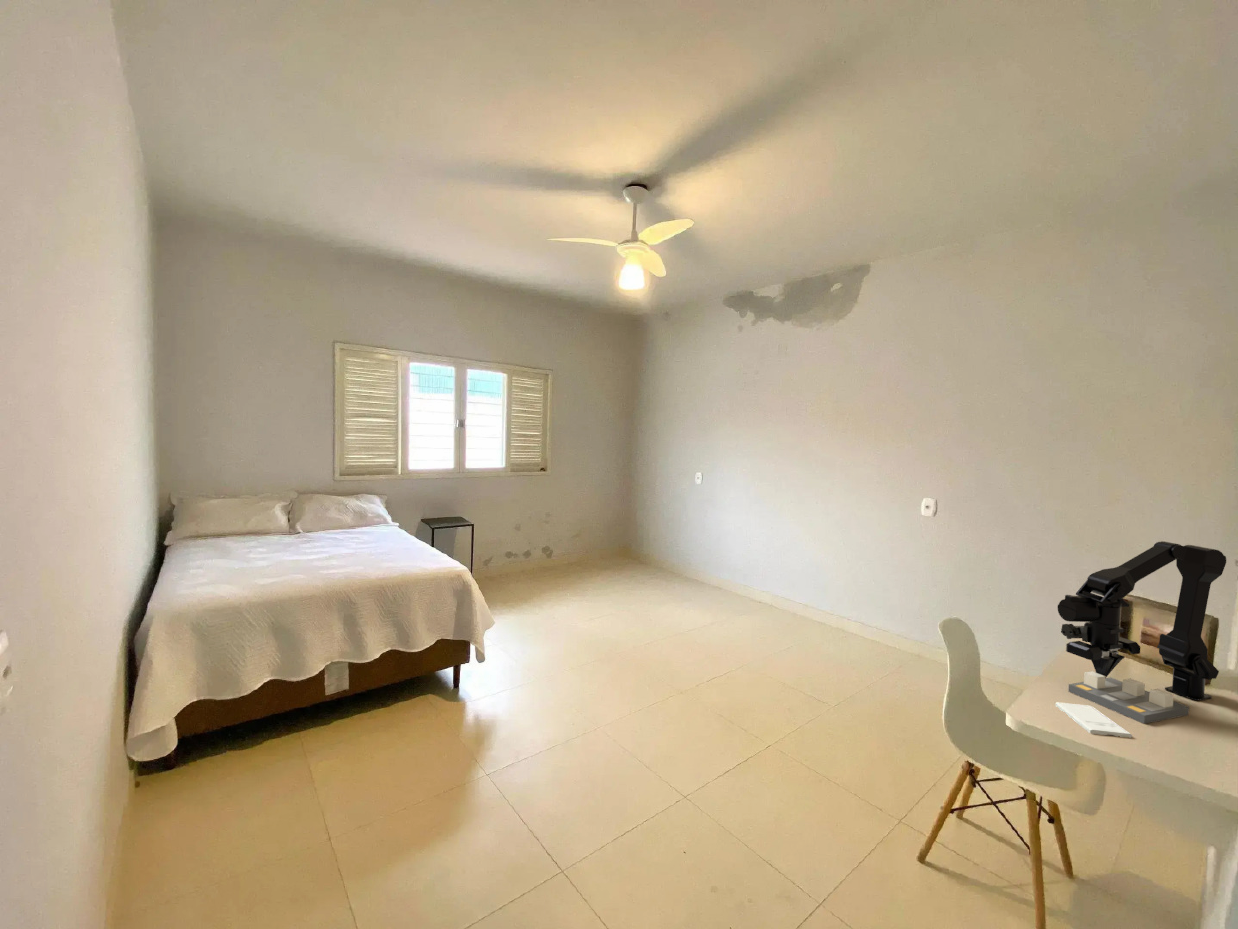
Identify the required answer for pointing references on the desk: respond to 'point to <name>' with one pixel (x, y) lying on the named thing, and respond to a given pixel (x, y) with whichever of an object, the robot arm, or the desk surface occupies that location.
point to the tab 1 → (1094, 679)
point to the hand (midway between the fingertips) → (1101, 679)
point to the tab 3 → (1161, 697)
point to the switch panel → (1128, 702)
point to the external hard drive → (1092, 720)
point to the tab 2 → (1133, 687)
